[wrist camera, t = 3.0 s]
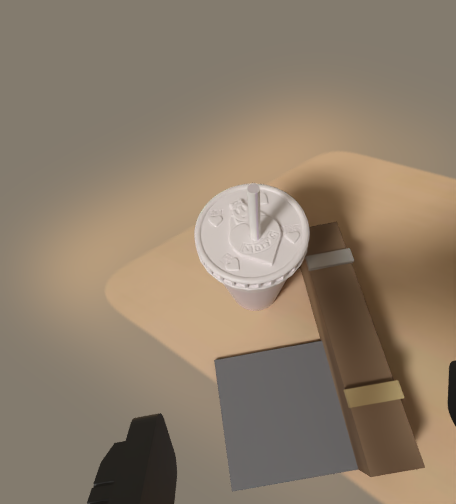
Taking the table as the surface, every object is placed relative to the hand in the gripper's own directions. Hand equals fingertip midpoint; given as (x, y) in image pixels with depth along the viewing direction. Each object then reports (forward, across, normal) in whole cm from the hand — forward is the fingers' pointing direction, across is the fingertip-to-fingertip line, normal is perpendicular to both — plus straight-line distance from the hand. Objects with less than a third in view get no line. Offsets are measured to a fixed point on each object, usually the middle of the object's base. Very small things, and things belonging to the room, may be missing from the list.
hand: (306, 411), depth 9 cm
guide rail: (+14, -6, +8) cm, 17 cm away
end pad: (+11, 0, +11) cm, 15 cm away
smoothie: (+17, 0, +4) cm, 18 cm away
